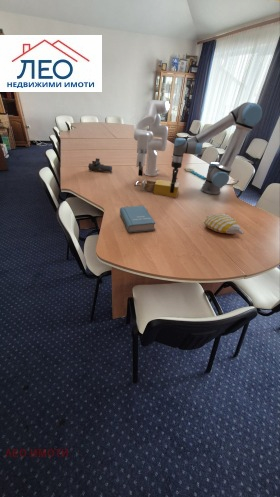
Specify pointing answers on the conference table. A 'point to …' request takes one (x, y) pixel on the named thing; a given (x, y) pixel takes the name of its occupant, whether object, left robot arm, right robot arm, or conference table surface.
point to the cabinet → (165, 188)
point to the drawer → (146, 185)
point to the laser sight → (99, 166)
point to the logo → (194, 172)
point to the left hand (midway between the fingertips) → (140, 175)
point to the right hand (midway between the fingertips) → (172, 190)
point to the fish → (223, 224)
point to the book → (137, 219)
